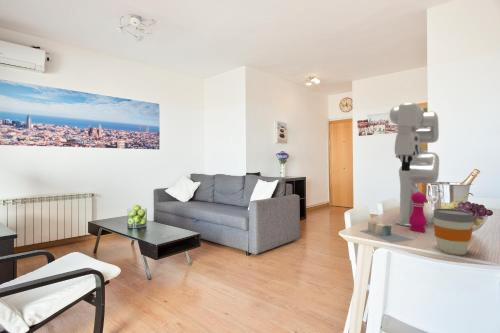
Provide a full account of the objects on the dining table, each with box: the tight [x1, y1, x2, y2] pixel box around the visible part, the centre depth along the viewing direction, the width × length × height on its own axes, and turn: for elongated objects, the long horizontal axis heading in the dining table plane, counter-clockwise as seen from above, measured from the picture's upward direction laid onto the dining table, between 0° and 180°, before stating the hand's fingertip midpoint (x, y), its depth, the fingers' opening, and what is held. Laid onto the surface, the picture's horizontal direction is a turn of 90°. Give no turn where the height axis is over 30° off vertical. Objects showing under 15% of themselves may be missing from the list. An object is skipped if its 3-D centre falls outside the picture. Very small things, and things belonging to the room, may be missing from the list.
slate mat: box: [359, 229, 414, 244], centre depth 127 cm, size 12×19×1 cm, turn 21°
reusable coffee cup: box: [432, 208, 475, 256], centre depth 108 cm, size 13×13×15 cm
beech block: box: [367, 220, 392, 236], centre depth 130 cm, size 4×4×9 cm
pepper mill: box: [409, 188, 427, 234], centre depth 136 cm, size 7×7×20 cm
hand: (405, 170), depth 131 cm, fingers closed
